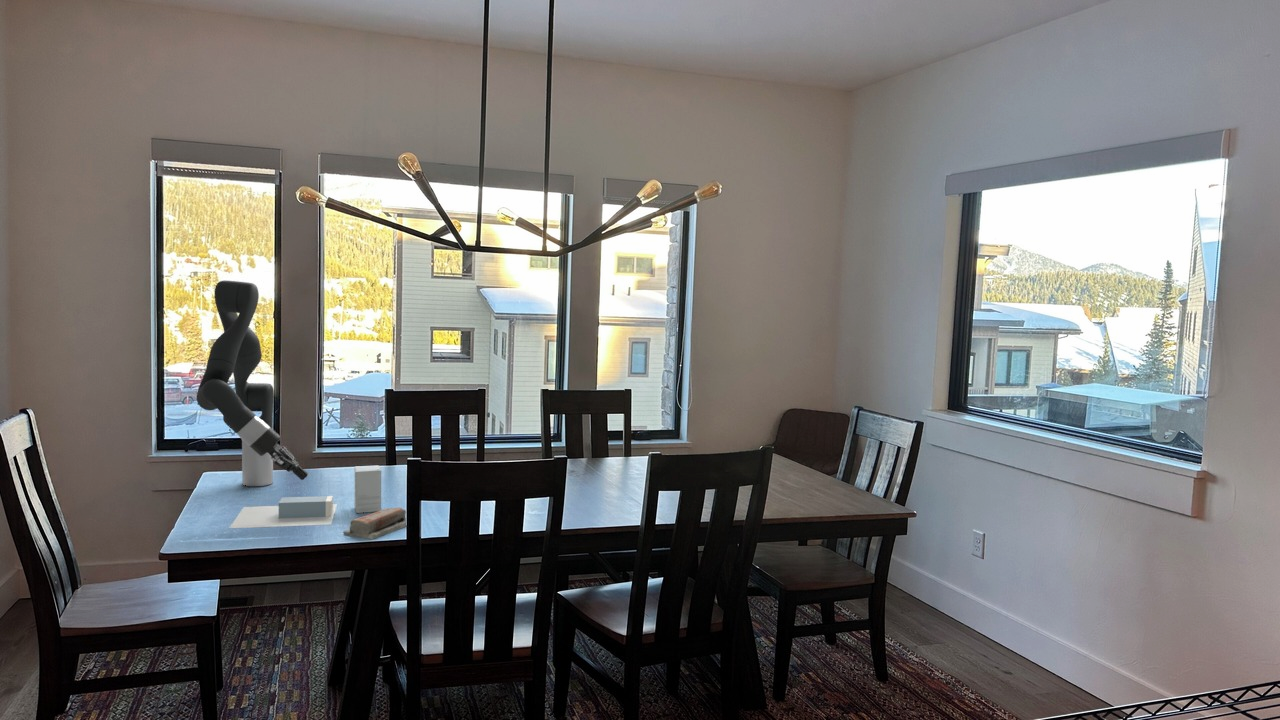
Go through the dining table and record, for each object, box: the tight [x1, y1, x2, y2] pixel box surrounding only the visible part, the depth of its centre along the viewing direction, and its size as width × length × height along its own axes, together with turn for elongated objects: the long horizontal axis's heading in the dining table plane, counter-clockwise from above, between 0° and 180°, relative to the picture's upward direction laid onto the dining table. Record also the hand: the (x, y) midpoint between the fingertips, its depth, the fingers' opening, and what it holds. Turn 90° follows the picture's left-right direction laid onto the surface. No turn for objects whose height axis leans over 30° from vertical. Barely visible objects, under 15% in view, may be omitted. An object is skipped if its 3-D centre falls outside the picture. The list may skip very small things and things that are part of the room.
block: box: [278, 495, 334, 519], centre depth 243 cm, size 6×4×14 cm
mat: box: [228, 503, 338, 529], centre depth 241 cm, size 22×26×1 cm
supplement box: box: [354, 464, 382, 514], centre depth 252 cm, size 7×7×13 cm
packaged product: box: [342, 507, 407, 540], centre depth 234 cm, size 18×5×10 cm
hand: (305, 477), depth 242 cm, fingers closed
